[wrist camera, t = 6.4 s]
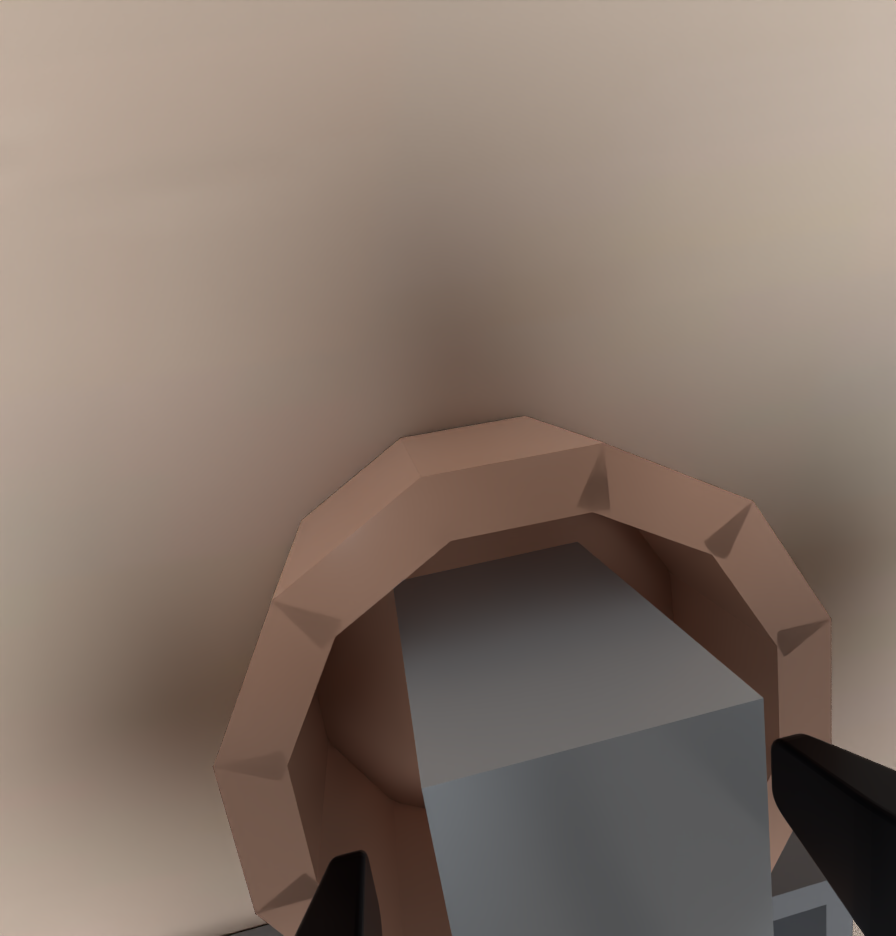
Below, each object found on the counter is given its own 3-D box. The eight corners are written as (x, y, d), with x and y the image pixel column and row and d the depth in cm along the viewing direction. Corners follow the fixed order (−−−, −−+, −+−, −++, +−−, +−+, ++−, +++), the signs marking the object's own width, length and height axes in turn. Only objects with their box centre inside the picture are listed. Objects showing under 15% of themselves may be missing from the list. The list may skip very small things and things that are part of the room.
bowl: (707, 770, 13) (832, 919, 9) (321, 874, 12) (304, 1084, 8) (683, 387, 11) (831, 400, 7) (218, 470, 10) (143, 527, 6)
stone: (598, 721, 11) (775, 990, 7) (429, 765, 11) (483, 1088, 6) (577, 541, 10) (762, 698, 6) (392, 581, 10) (421, 788, 5)
